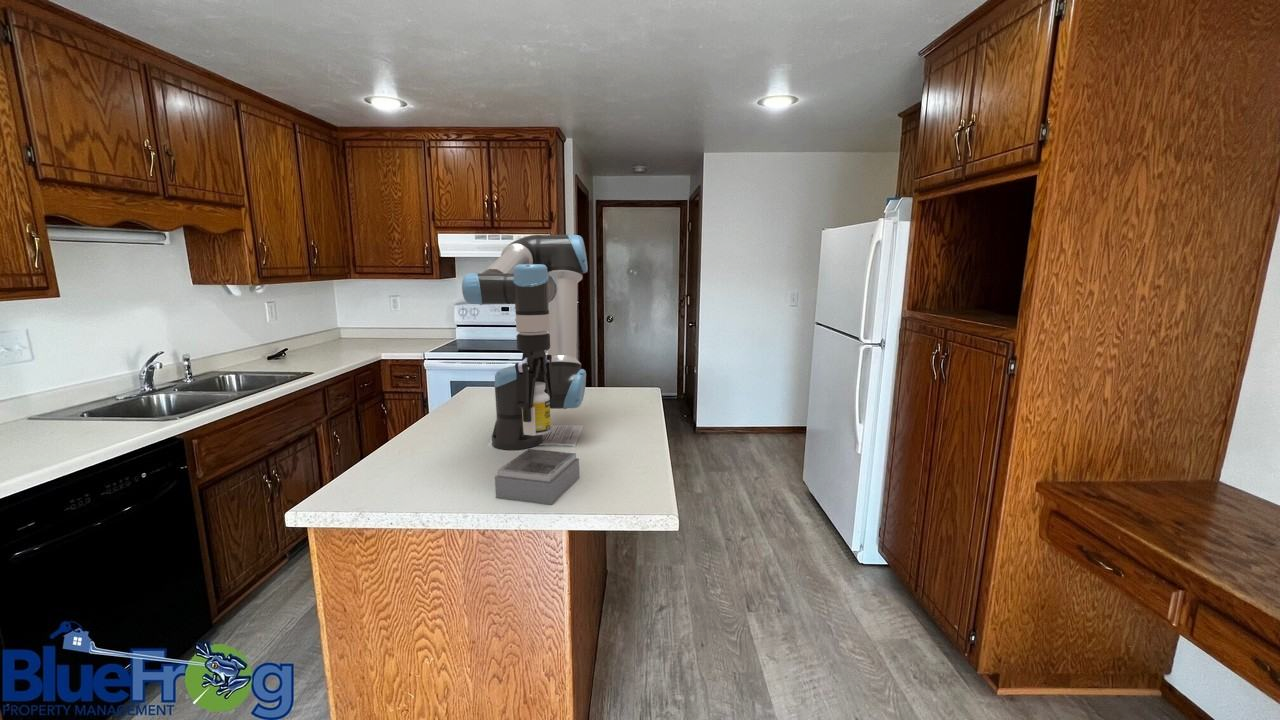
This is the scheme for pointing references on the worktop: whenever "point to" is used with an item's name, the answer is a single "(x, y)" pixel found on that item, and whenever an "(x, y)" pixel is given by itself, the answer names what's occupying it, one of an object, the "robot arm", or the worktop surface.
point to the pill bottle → (541, 409)
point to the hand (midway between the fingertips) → (537, 429)
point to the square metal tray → (537, 476)
